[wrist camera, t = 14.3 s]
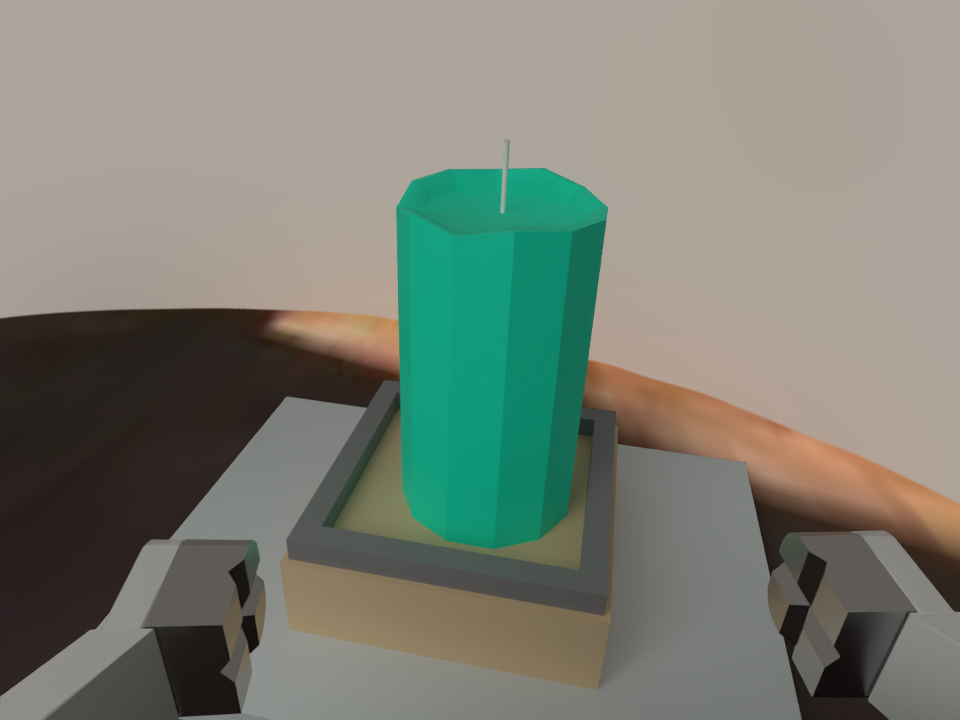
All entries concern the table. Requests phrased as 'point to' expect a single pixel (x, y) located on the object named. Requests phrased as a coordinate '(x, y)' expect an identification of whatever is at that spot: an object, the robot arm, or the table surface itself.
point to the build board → (497, 585)
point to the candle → (494, 347)
